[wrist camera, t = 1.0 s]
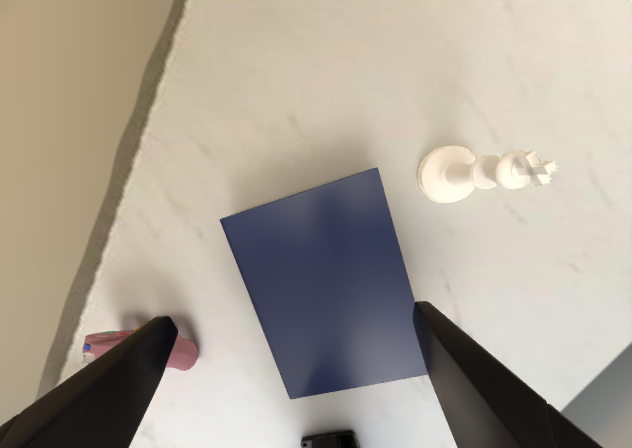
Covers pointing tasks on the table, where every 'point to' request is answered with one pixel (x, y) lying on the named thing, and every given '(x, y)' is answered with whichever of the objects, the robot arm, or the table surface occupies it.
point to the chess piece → (478, 172)
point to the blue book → (329, 286)
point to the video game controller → (102, 342)
